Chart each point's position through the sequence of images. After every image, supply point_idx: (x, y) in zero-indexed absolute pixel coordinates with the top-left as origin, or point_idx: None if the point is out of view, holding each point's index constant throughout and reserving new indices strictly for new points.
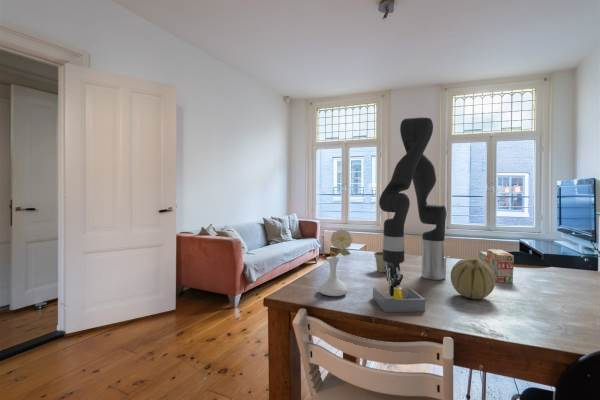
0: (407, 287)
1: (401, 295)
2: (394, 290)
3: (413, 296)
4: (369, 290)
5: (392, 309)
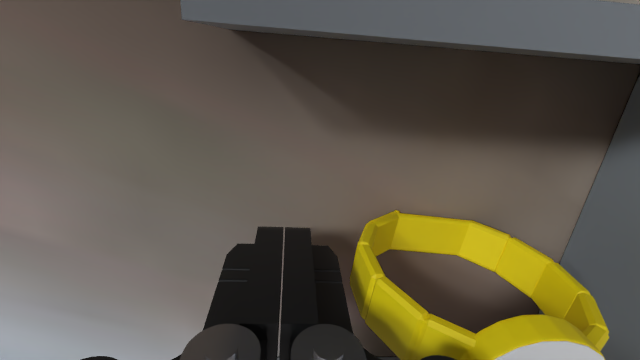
0: (198, 20)
1: (597, 319)
2: (401, 344)
3: (478, 48)
4: (6, 350)
5: None
